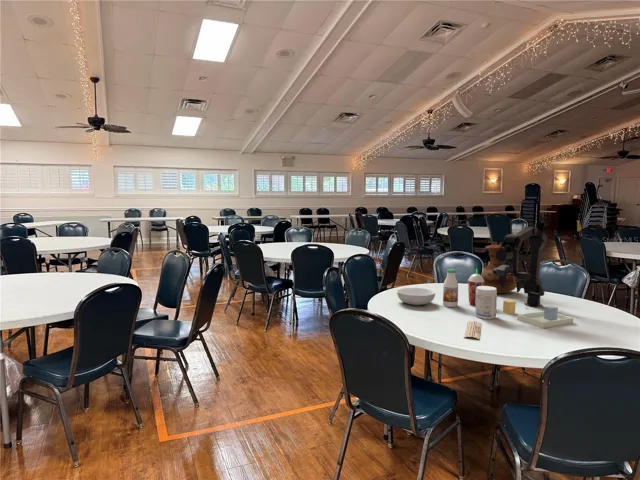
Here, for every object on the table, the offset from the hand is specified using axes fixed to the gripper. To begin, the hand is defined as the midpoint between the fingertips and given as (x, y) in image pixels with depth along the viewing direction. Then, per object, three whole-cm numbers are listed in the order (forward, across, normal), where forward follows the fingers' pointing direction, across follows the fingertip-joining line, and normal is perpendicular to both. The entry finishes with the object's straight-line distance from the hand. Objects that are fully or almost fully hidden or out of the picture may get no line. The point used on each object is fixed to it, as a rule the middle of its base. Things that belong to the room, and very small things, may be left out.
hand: (510, 290), depth 208 cm
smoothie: (+12, -19, -4) cm, 23 cm away
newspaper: (+13, +15, -38) cm, 43 cm away
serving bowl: (+12, -35, -32) cm, 49 cm away
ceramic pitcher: (+12, -37, +32) cm, 50 cm away
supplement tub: (+12, +1, -17) cm, 21 cm away
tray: (+12, +18, +3) cm, 22 cm away
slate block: (+11, +18, +7) cm, 22 cm away
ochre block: (+12, 0, 0) cm, 12 cm away
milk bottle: (+12, -23, -18) cm, 32 cm away
